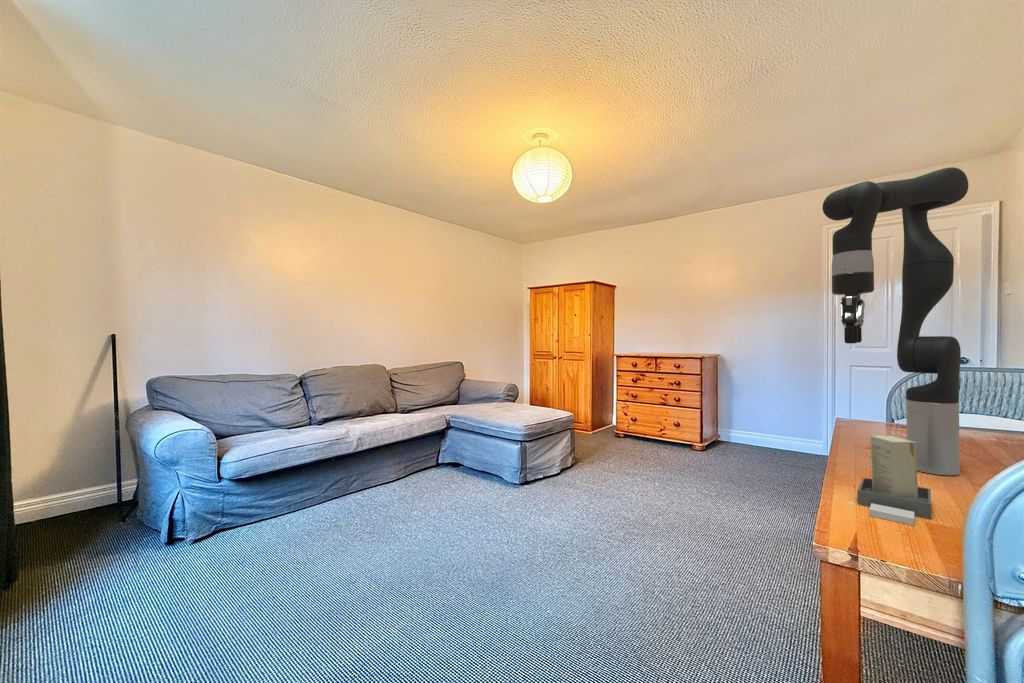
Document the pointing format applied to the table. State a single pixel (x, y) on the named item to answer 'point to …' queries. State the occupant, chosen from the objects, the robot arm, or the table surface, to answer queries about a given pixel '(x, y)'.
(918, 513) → the grey open tray
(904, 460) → the skincare box
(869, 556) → the table surface
